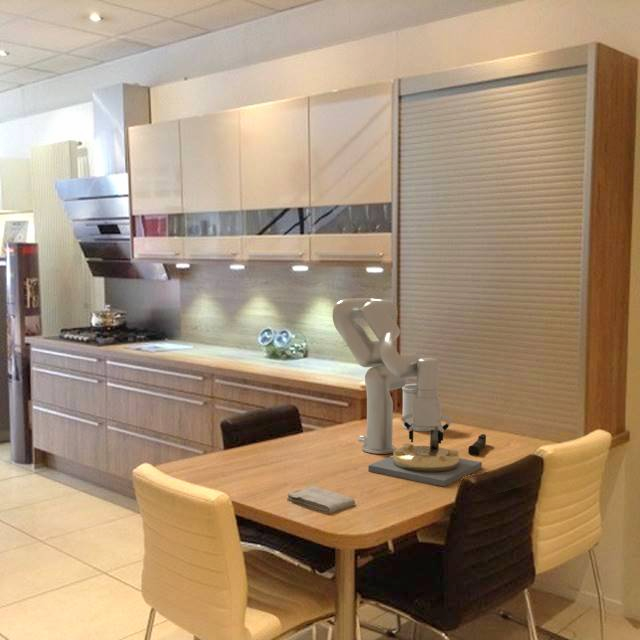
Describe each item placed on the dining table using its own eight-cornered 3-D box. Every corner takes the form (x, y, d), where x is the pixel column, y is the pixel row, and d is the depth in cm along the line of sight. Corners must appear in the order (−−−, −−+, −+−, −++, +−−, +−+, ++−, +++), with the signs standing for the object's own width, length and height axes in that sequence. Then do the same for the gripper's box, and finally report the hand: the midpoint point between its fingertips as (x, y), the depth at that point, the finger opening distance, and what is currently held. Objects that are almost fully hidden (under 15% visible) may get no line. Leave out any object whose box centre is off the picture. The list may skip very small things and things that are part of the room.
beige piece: (447, 475, 246) (448, 446, 245) (383, 466, 256) (384, 438, 255) (466, 459, 266) (467, 432, 265) (406, 451, 275) (406, 425, 274)
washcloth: (311, 492, 235) (311, 483, 235) (357, 506, 223) (357, 495, 222) (284, 501, 226) (284, 491, 226) (329, 516, 214) (330, 505, 214)
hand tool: (478, 456, 279) (479, 444, 279) (467, 455, 281) (468, 442, 281) (491, 445, 296) (491, 434, 296) (481, 444, 298) (481, 432, 298)
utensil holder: (439, 432, 317) (440, 389, 316) (403, 431, 317) (404, 389, 315) (433, 424, 332) (434, 383, 330) (399, 423, 332) (400, 383, 330)
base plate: (368, 471, 258) (368, 464, 258) (410, 454, 280) (410, 448, 280) (443, 486, 241) (443, 479, 241) (481, 467, 264) (481, 461, 264)
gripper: (402, 394, 265) (400, 443, 266) (453, 396, 263) (451, 445, 264) (402, 390, 272) (401, 438, 274) (451, 392, 270) (450, 440, 272)
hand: (425, 442), depth 269 cm, fingers open, 9 cm apart
